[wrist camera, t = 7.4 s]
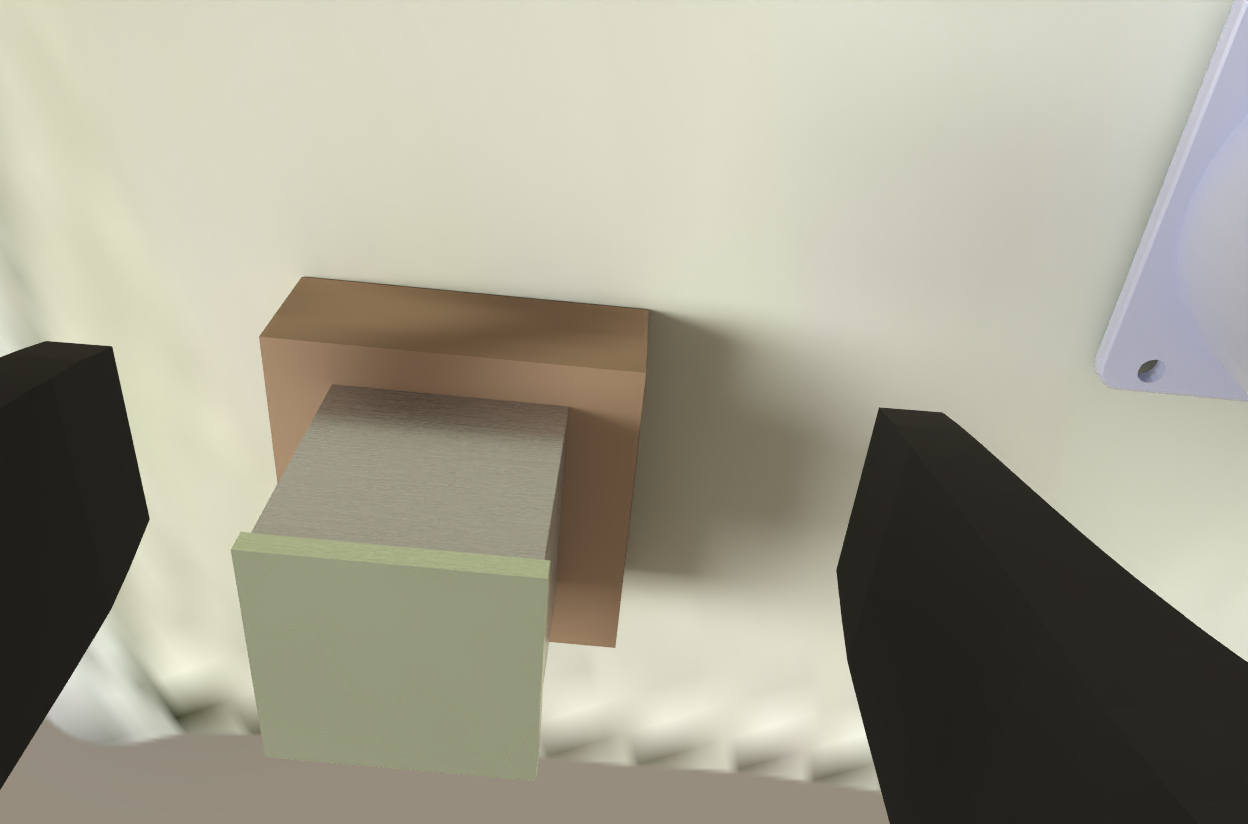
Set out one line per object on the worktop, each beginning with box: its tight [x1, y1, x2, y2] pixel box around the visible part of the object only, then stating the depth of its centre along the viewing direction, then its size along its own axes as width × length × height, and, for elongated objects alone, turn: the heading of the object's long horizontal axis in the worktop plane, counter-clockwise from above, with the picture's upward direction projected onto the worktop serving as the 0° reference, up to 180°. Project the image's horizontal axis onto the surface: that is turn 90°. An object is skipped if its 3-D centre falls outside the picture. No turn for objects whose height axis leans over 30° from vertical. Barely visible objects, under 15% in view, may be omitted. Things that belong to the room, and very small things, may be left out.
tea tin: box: [231, 384, 569, 781], centre depth 18 cm, size 5×5×5 cm
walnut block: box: [259, 277, 649, 648], centre depth 21 cm, size 7×7×2 cm
